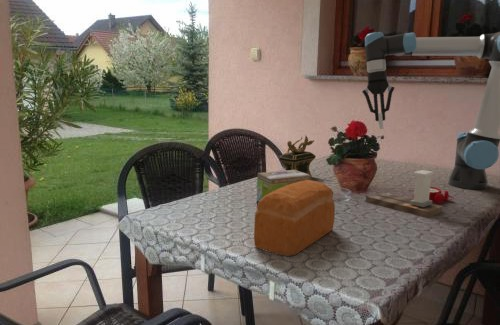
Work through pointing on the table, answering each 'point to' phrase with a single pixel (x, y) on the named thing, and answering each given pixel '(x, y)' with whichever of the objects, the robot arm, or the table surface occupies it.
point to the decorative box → (298, 157)
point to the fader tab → (422, 188)
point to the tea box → (277, 181)
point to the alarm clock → (437, 195)
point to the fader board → (403, 204)
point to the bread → (294, 217)
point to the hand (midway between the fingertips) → (381, 128)
